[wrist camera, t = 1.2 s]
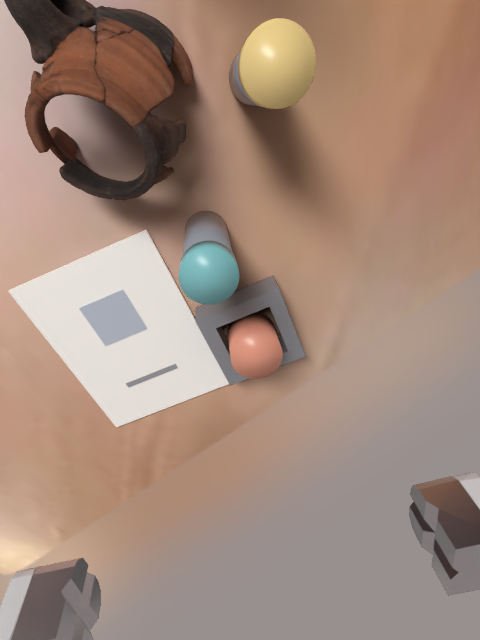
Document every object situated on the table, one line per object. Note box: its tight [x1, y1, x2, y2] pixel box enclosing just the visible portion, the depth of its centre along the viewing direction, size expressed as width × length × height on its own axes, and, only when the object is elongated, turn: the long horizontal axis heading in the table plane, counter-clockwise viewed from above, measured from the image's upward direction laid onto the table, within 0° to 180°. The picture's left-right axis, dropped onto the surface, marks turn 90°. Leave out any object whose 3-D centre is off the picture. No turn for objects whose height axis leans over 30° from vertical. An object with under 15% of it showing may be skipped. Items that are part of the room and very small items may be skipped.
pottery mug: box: [4, 0, 193, 200], centre depth 23 cm, size 12×10×8 cm
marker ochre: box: [229, 18, 316, 109], centre depth 21 cm, size 3×3×9 cm
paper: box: [8, 229, 229, 427], centre depth 34 cm, size 12×16×1 cm
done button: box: [228, 312, 283, 378], centre depth 31 cm, size 4×4×4 cm
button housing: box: [196, 276, 306, 386], centre depth 33 cm, size 7×7×2 cm
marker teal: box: [179, 211, 239, 304], centre depth 26 cm, size 3×3×9 cm
